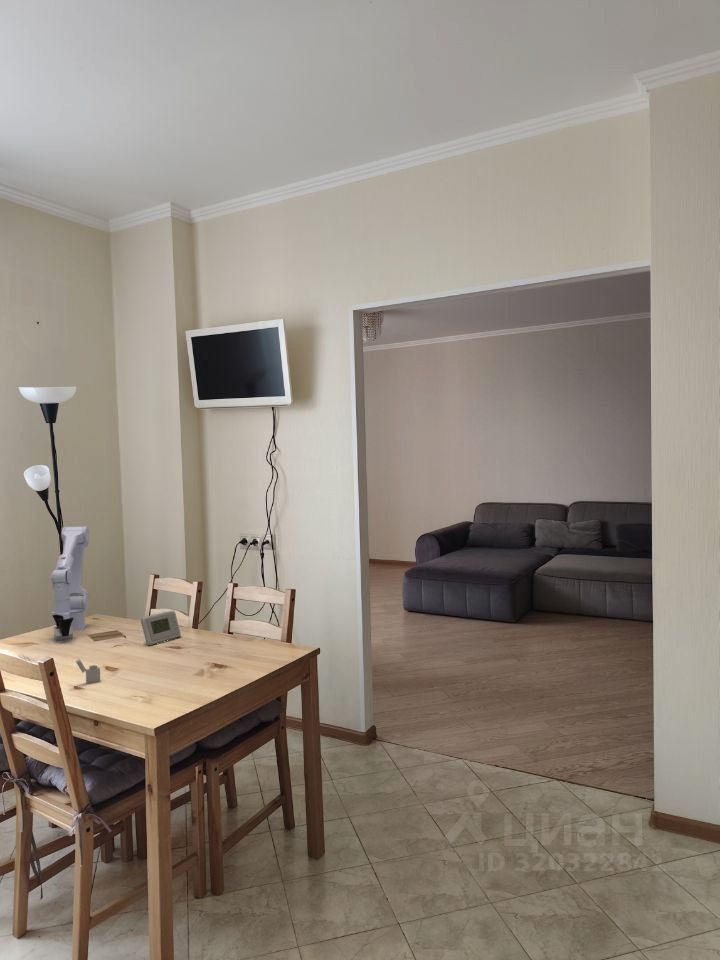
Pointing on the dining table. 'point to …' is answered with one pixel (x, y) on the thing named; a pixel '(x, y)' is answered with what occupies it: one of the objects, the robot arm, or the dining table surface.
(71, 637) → the housing
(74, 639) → the grey stand
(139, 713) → the dining table surface
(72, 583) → the robot arm
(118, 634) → the walnut stand
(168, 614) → the digital clock
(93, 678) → the lighter
